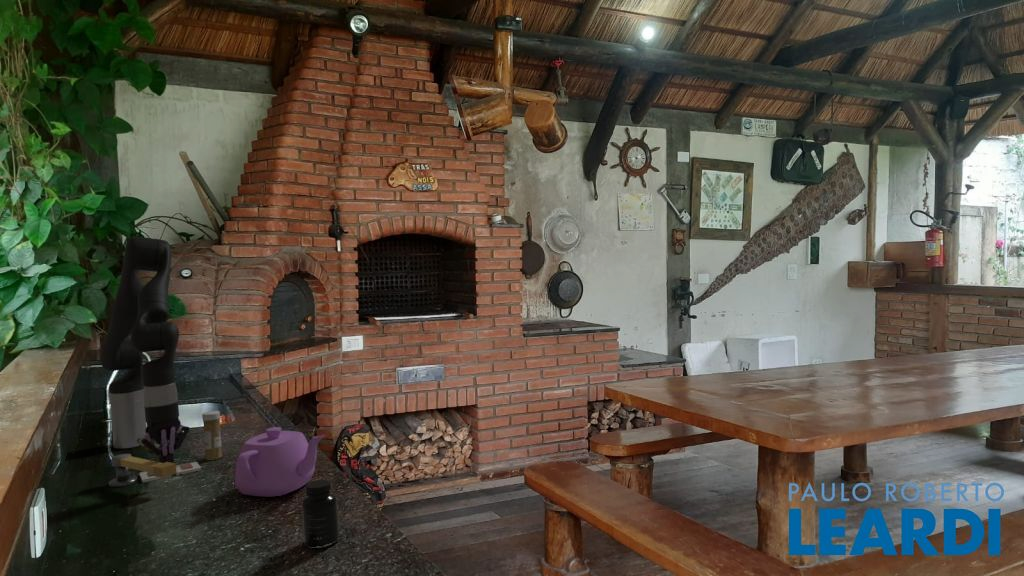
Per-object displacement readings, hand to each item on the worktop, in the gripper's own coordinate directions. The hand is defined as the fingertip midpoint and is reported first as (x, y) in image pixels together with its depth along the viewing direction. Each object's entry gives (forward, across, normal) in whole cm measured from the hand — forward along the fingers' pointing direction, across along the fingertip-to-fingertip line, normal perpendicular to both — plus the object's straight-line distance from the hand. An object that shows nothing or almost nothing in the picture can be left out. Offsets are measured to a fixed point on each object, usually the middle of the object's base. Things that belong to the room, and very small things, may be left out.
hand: (167, 468), depth 164 cm
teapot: (+5, -11, +28) cm, 31 cm away
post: (+5, +4, -14) cm, 15 cm away
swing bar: (0, +3, -5) cm, 6 cm away
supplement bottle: (+5, +6, +61) cm, 61 cm away
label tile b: (+5, -10, -8) cm, 14 cm away
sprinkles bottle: (+5, -20, -10) cm, 23 cm away
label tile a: (+5, -3, -11) cm, 12 cm away
